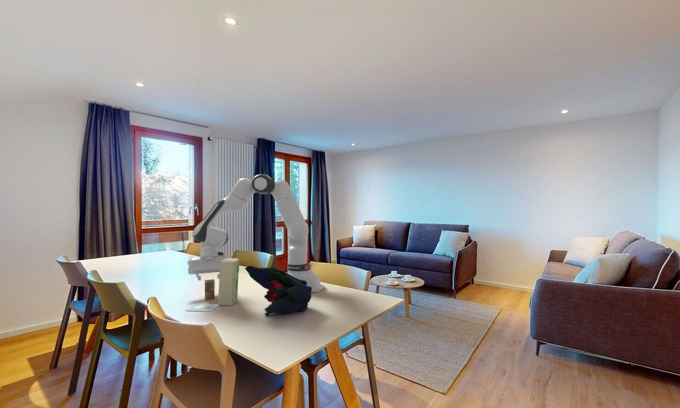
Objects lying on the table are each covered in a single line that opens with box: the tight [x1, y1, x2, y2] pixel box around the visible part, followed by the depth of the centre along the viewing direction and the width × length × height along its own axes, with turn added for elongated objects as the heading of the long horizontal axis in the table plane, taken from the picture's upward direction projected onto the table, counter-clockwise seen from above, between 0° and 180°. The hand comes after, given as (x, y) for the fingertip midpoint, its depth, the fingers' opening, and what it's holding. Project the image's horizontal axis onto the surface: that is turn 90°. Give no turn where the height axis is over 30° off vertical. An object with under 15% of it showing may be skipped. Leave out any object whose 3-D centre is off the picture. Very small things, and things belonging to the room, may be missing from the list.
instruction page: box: [185, 303, 221, 313], centre depth 138 cm, size 12×9×1 cm
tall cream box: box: [217, 257, 240, 306], centre depth 145 cm, size 8×7×21 cm
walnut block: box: [204, 278, 216, 301], centre depth 152 cm, size 4×4×9 cm
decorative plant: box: [244, 265, 313, 316], centre depth 134 cm, size 21×26×30 cm
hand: (209, 278), depth 156 cm, fingers open, 8 cm apart
